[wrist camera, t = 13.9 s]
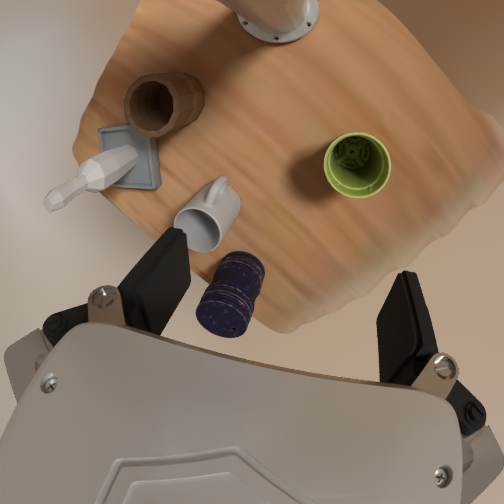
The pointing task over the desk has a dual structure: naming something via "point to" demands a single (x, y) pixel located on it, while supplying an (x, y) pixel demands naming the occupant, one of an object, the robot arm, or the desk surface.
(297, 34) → the robot arm
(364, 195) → the plant pot
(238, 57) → the desk surface
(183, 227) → the mug
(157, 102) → the holder
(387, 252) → the desk surface
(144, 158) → the tray
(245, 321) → the storage jar
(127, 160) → the faceted bottle
